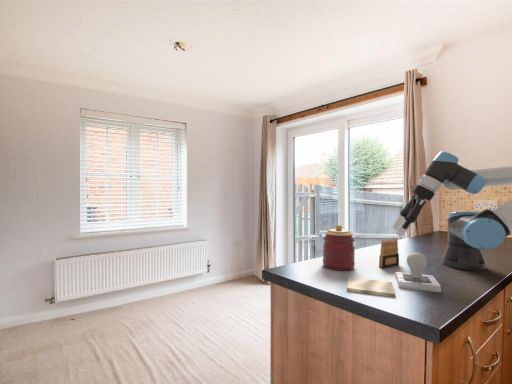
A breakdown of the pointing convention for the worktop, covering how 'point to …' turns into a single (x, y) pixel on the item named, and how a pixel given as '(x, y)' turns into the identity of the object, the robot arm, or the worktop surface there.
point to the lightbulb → (416, 265)
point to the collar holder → (429, 286)
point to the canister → (338, 249)
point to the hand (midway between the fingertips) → (396, 231)
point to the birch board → (370, 287)
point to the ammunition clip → (389, 253)
